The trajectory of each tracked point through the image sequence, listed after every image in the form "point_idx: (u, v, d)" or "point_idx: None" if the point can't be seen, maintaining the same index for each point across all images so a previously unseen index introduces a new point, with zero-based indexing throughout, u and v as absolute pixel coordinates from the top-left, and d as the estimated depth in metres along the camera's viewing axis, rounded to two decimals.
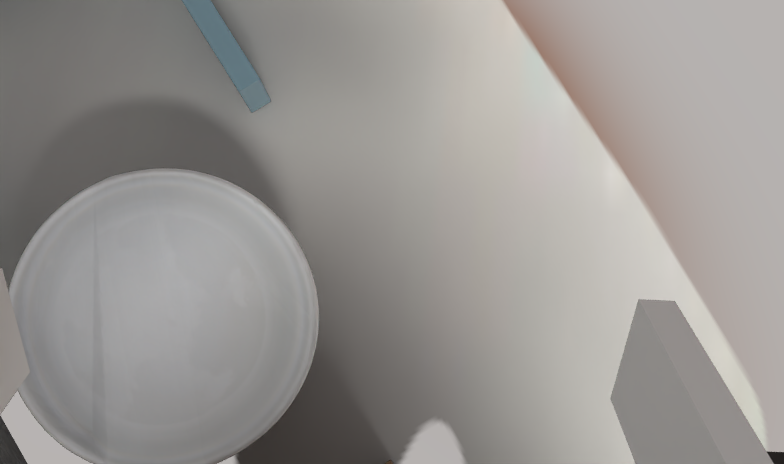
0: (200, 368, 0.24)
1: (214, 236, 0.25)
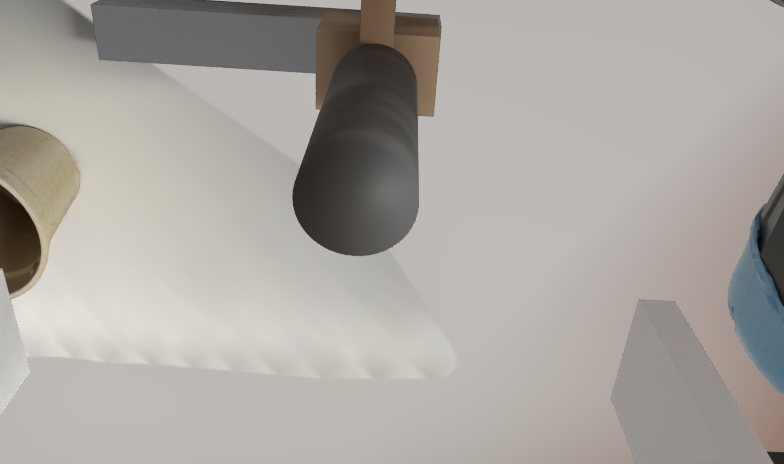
0: None
1: None
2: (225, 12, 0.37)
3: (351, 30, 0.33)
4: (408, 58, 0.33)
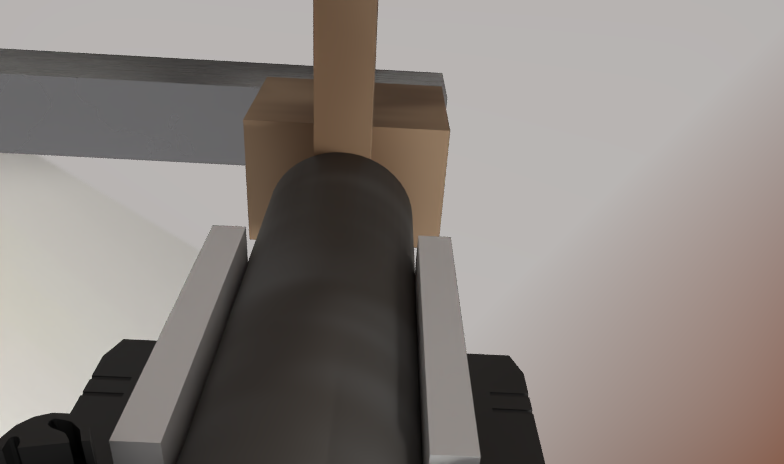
0: None
1: None
2: (112, 78, 0.24)
3: (302, 120, 0.20)
4: (397, 163, 0.20)
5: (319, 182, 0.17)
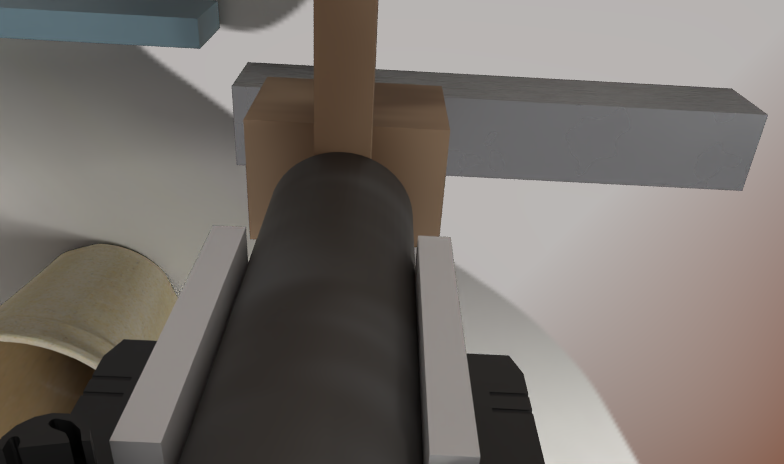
0: None
1: None
2: None
3: (302, 119, 0.20)
4: (397, 163, 0.20)
5: (320, 182, 0.17)
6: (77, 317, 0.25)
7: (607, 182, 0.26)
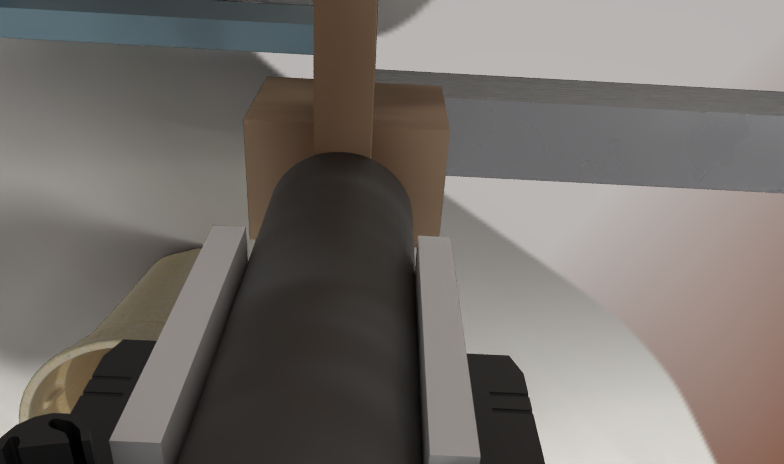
0: None
1: None
2: (561, 102, 0.24)
3: (302, 119, 0.20)
4: (397, 163, 0.20)
5: (319, 182, 0.17)
6: None
7: (723, 188, 0.26)
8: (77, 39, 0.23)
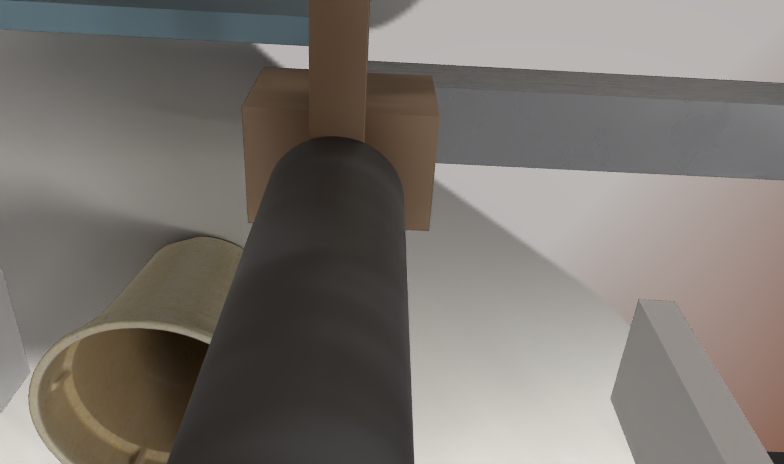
0: None
1: None
2: (551, 92, 0.25)
3: (298, 106, 0.21)
4: (389, 148, 0.21)
5: (315, 163, 0.17)
6: (200, 306, 0.26)
7: (707, 175, 0.27)
8: (84, 31, 0.24)
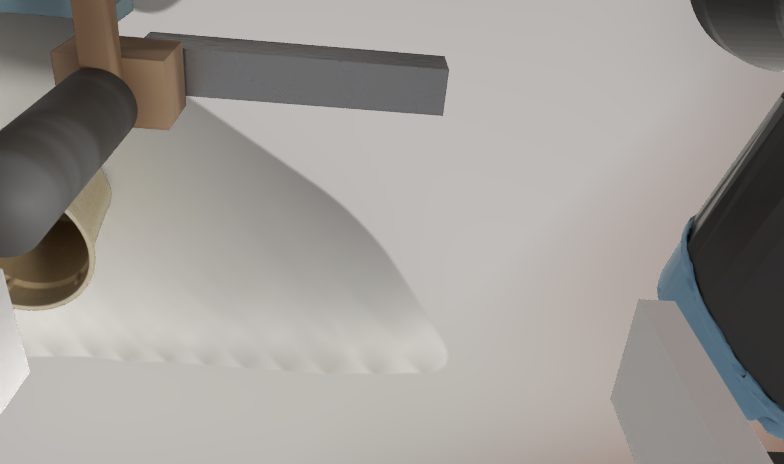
0: None
1: None
2: (258, 53, 0.42)
3: None
4: (137, 79, 0.38)
5: (73, 78, 0.34)
6: None
7: (363, 108, 0.44)
8: None
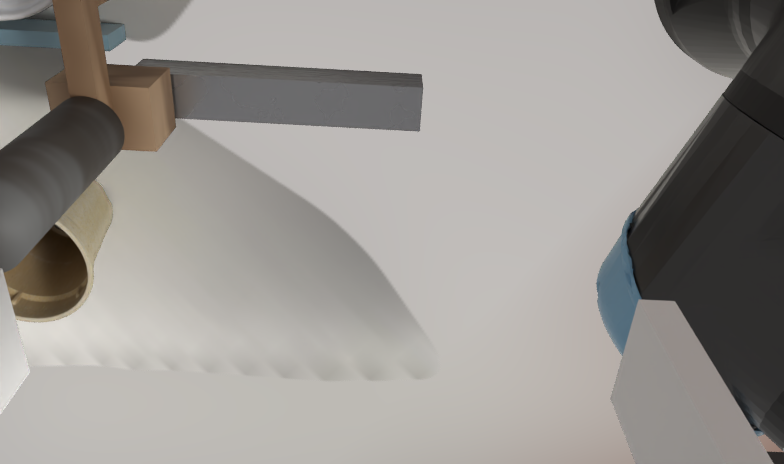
0: None
1: None
2: (242, 77, 0.44)
3: None
4: (125, 105, 0.40)
5: (62, 107, 0.37)
6: None
7: (343, 126, 0.46)
8: None
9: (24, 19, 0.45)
